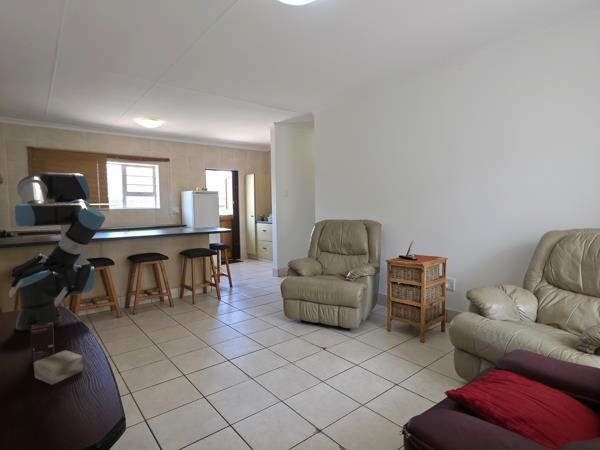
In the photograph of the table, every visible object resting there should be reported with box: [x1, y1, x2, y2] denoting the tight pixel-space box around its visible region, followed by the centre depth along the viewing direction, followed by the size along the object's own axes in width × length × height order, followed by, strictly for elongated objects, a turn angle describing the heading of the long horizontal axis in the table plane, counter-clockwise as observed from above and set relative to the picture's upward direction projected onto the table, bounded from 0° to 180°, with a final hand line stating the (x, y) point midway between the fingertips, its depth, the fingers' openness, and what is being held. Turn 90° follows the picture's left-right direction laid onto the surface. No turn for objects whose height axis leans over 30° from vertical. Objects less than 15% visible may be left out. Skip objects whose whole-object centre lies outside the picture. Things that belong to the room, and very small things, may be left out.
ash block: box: [33, 349, 84, 386], centre depth 103 cm, size 9×9×5 cm
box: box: [29, 322, 56, 365], centre depth 111 cm, size 6×4×12 cm
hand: (33, 299), depth 114 cm, fingers open, 13 cm apart
